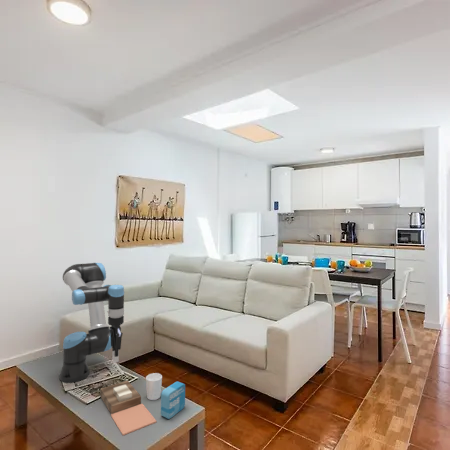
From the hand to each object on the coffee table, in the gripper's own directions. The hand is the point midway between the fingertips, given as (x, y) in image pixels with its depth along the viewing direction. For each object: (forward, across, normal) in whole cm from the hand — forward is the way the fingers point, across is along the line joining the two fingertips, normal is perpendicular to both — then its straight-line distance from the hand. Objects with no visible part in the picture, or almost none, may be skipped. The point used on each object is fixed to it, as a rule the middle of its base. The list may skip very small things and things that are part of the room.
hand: (115, 361), depth 164 cm
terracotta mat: (+17, +25, 0) cm, 30 cm away
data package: (+17, +31, +17) cm, 39 cm away
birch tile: (+12, +11, 0) cm, 16 cm away
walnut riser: (+16, +8, 0) cm, 18 cm away
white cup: (+17, +14, +15) cm, 26 cm away
